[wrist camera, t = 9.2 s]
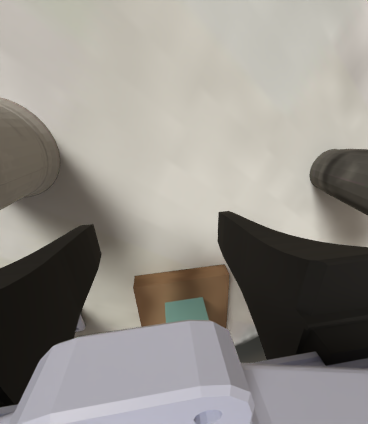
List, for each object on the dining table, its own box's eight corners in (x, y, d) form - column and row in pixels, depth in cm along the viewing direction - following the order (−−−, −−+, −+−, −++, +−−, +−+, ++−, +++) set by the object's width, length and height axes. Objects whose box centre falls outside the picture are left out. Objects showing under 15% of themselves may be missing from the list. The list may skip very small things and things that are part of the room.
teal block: (168, 328, 27) (171, 378, 22) (164, 302, 25) (167, 351, 20) (203, 322, 28) (214, 370, 22) (202, 297, 26) (215, 343, 20)
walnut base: (146, 335, 30) (146, 348, 29) (134, 276, 25) (133, 287, 24) (221, 323, 32) (225, 335, 30) (224, 264, 27) (229, 274, 25)
